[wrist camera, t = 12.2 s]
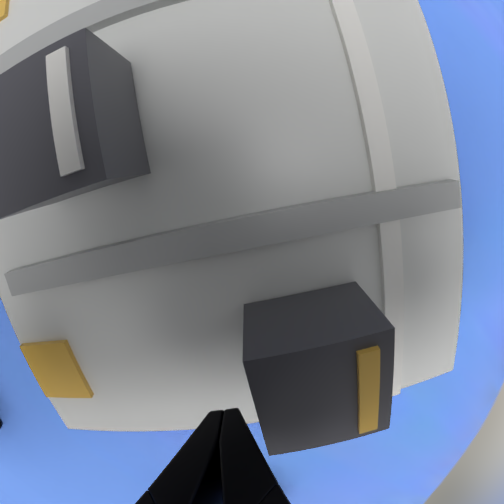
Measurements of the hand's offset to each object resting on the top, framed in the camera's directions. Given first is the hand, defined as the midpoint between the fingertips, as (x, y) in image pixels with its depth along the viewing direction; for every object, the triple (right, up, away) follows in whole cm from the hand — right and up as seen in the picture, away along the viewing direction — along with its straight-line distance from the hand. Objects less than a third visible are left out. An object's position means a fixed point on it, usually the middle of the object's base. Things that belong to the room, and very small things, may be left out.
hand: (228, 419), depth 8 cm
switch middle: (-5, +9, +1) cm, 10 cm away
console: (-2, +10, +4) cm, 11 cm away
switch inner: (+3, +1, +3) cm, 5 cm away
